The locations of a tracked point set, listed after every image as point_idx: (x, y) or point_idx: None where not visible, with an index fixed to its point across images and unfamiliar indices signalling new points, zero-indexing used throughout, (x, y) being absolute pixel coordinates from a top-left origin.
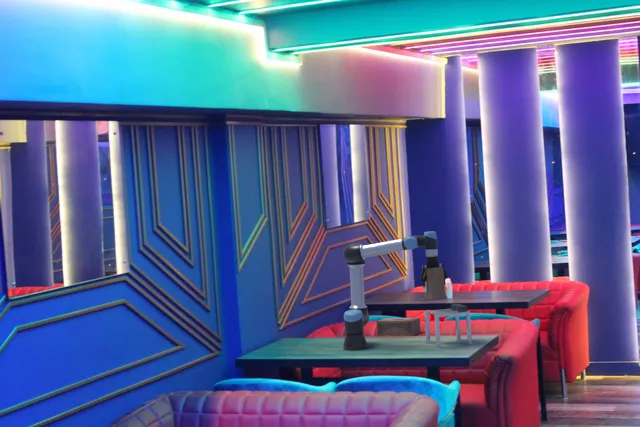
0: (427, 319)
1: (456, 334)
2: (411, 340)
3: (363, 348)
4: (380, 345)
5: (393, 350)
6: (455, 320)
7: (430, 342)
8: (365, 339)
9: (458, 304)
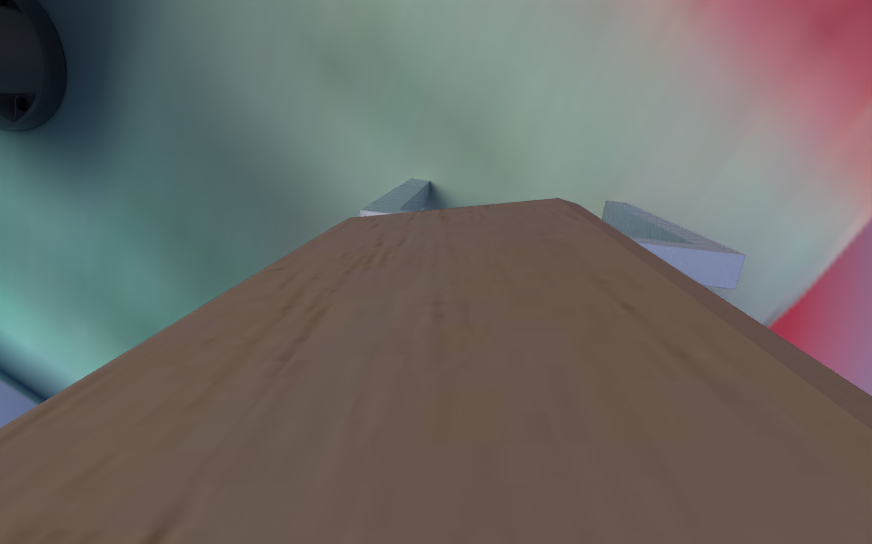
0: None
1: (616, 207)
2: (370, 2)
3: (38, 124)
4: (148, 62)
5: (185, 281)
6: (654, 224)
7: (427, 200)
8: (7, 71)
9: None
